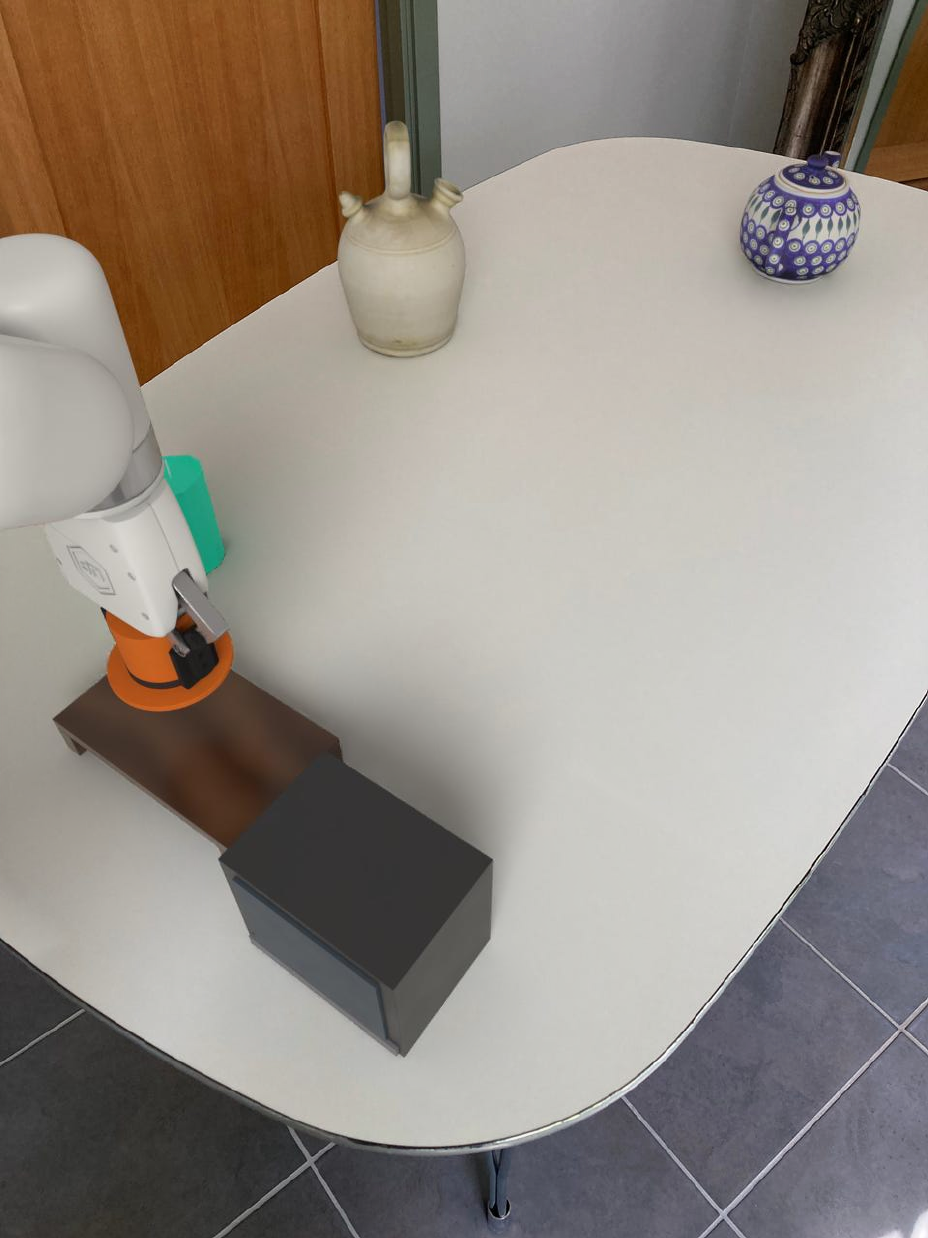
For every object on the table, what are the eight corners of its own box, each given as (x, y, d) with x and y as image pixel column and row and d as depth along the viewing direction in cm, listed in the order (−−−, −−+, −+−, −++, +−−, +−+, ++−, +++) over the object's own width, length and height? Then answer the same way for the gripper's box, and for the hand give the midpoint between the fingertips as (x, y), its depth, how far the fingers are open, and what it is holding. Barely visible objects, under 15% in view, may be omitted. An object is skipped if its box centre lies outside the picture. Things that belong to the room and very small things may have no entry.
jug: (474, 302, 125) (474, 98, 107) (456, 370, 115) (453, 157, 96) (360, 294, 127) (340, 92, 108) (332, 360, 117) (305, 149, 98)
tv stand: (240, 876, 72) (230, 851, 69) (67, 746, 79) (51, 718, 76) (344, 766, 78) (339, 738, 75) (175, 655, 86) (164, 626, 83)
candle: (237, 545, 95) (212, 449, 86) (202, 584, 92) (172, 489, 83) (187, 528, 97) (158, 432, 88) (151, 566, 93) (117, 470, 84)
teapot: (811, 324, 121) (845, 209, 110) (701, 292, 127) (723, 179, 116) (869, 242, 135) (904, 133, 124) (768, 216, 141) (793, 109, 130)
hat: (168, 732, 66) (145, 679, 61) (82, 672, 69) (55, 618, 65) (259, 650, 70) (244, 595, 66) (174, 598, 74) (155, 542, 69)
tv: (401, 1062, 63) (389, 995, 54) (247, 941, 68) (213, 862, 59) (490, 938, 68) (493, 859, 59) (341, 836, 74) (323, 749, 65)
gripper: (-53, 437, 57) (48, 632, 70) (144, 556, 50) (214, 747, 64) (50, 376, 61) (127, 572, 74) (245, 479, 54) (291, 674, 68)
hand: (167, 651), depth 69 cm, fingers closed on hat, 6 cm apart
